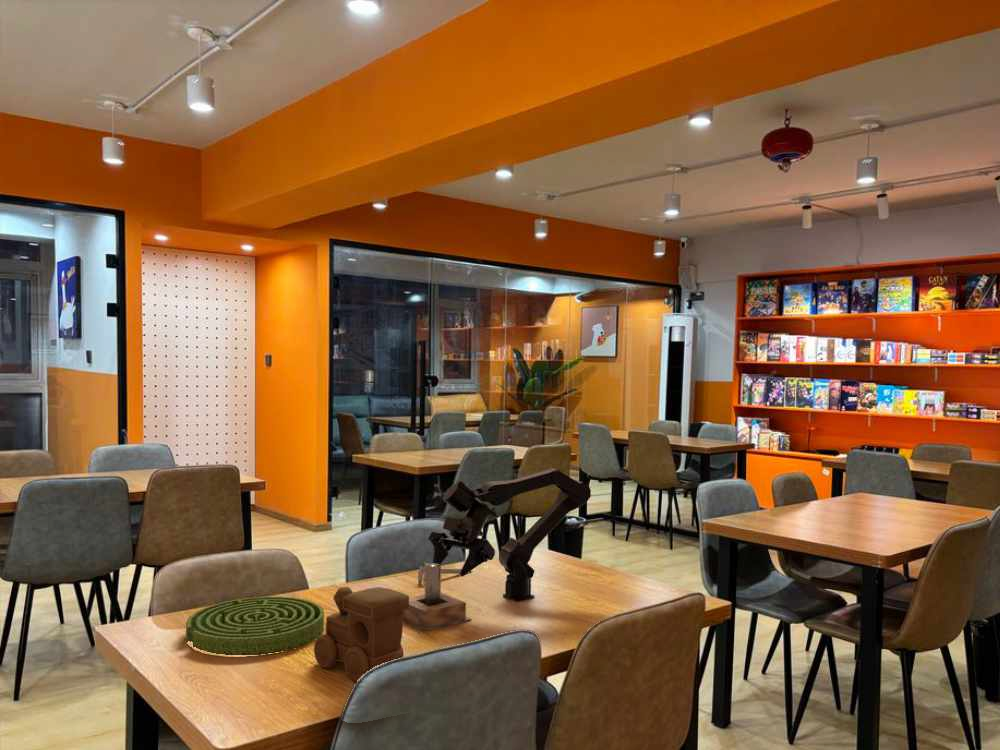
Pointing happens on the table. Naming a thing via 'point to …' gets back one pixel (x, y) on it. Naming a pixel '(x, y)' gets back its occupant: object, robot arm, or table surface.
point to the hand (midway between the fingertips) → (446, 572)
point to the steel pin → (432, 584)
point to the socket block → (435, 613)
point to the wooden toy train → (363, 630)
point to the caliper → (443, 571)
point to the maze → (255, 625)
